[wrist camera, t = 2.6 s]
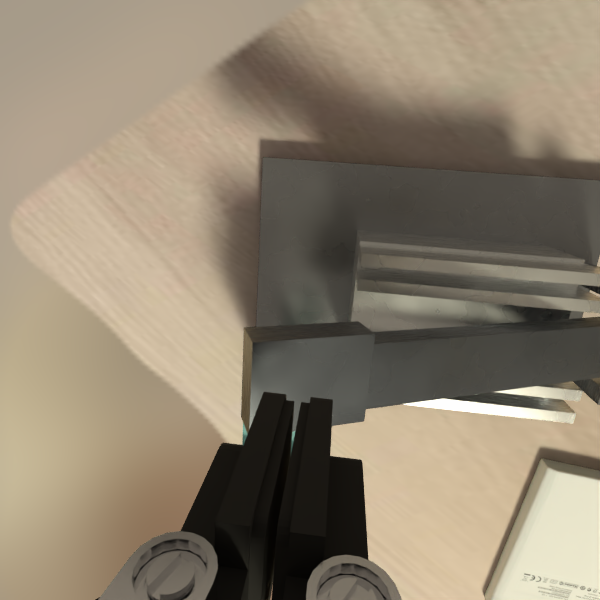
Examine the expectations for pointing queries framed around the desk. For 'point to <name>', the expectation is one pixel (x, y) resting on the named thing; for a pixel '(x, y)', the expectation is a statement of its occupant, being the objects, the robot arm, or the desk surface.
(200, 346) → the desk surface
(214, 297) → the desk surface
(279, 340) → the dark grey flat bar
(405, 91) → the desk surface
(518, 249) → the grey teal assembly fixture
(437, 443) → the desk surface
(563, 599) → the external hard drive
